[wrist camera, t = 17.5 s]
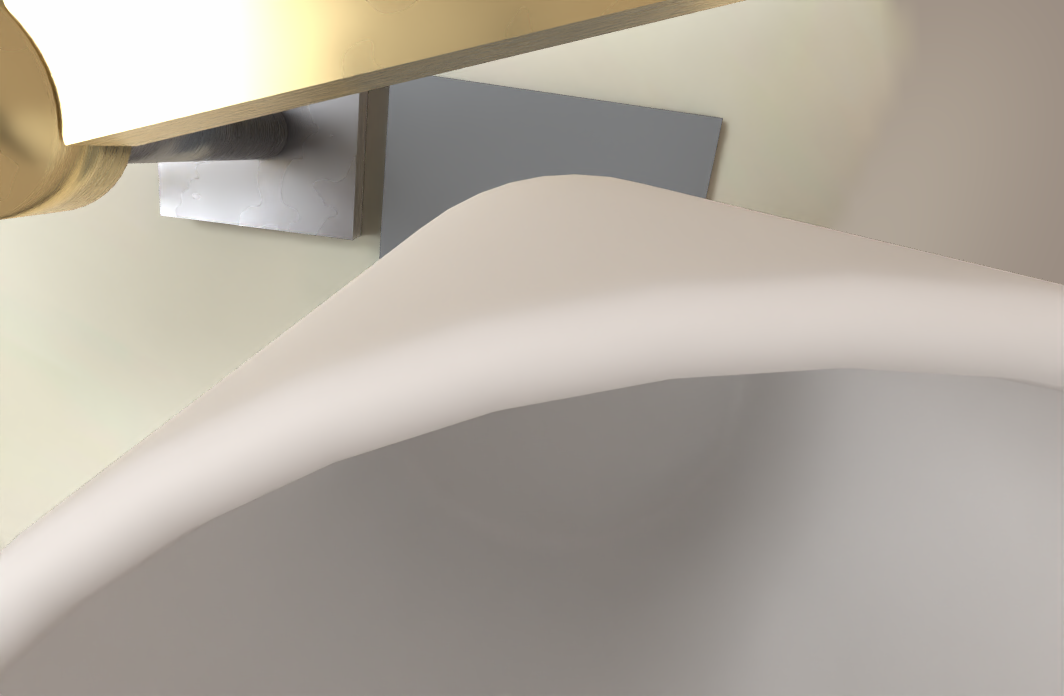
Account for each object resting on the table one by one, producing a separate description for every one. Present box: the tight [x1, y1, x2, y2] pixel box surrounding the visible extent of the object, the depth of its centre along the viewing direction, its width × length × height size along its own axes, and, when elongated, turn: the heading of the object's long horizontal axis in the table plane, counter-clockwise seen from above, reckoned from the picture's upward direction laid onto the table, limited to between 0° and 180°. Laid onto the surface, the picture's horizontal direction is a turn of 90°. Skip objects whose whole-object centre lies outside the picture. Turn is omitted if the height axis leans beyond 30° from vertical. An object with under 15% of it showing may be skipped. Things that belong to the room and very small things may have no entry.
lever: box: [0, 0, 745, 220], centre depth 12 cm, size 38×4×3 cm, turn 102°
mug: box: [0, 174, 1064, 696], centre depth 8 cm, size 12×8×10 cm
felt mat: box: [379, 76, 723, 260], centre depth 29 cm, size 18×14×1 cm
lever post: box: [128, 91, 368, 240], centre depth 20 cm, size 8×8×14 cm
